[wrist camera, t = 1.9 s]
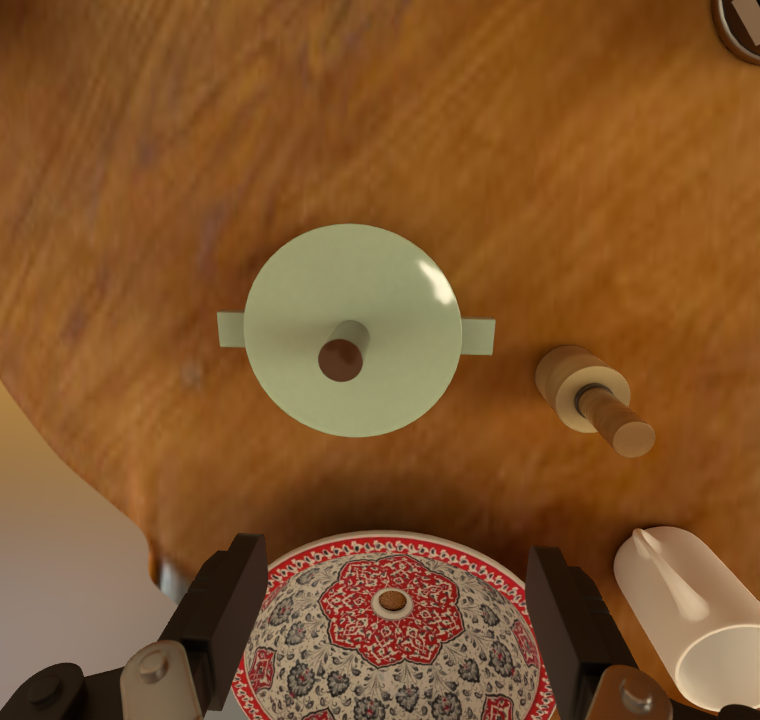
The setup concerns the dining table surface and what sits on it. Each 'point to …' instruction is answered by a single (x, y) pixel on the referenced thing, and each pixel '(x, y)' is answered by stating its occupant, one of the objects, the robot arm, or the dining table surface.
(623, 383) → the rubber stamp
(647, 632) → the mug
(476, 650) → the ceramic bowl
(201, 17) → the dining table surface
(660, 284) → the dining table surface
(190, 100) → the dining table surface
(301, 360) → the lid
